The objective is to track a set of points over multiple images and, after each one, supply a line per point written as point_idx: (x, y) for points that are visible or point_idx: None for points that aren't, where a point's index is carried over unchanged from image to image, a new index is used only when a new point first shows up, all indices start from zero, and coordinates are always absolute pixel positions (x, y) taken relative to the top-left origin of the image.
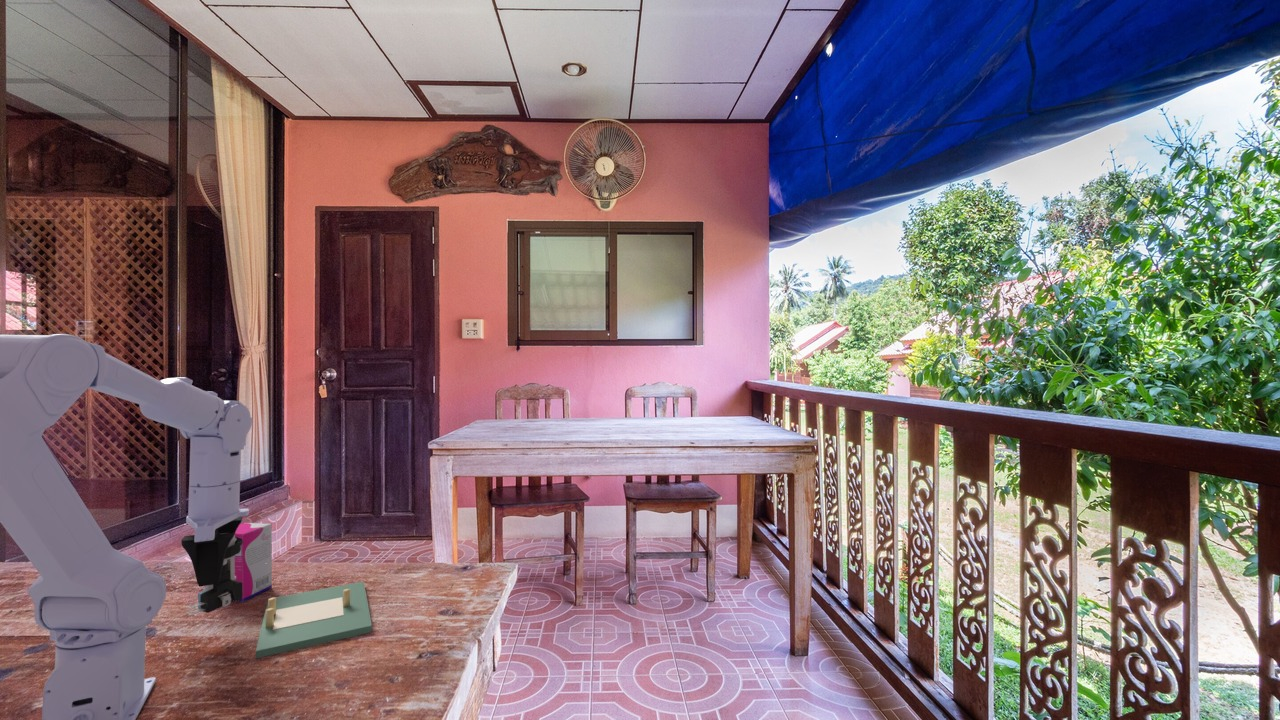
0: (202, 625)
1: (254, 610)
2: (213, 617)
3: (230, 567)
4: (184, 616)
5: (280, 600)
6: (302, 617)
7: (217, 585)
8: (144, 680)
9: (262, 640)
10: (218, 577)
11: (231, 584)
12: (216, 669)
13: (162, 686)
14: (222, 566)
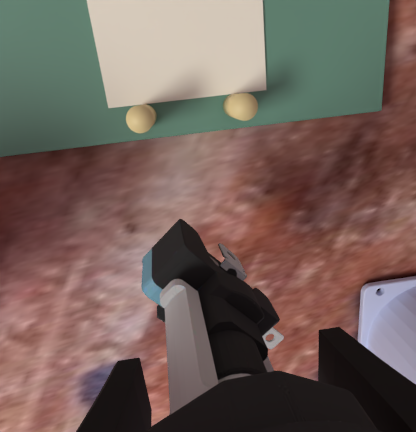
0: (107, 286)
1: (39, 185)
2: (61, 277)
3: (206, 338)
4: (34, 341)
5: (20, 111)
6: (210, 1)
7: (258, 323)
8: (370, 301)
9: (324, 106)
10: (359, 344)
11: (230, 278)
12: (372, 186)
13: (386, 264)
14: (371, 377)
